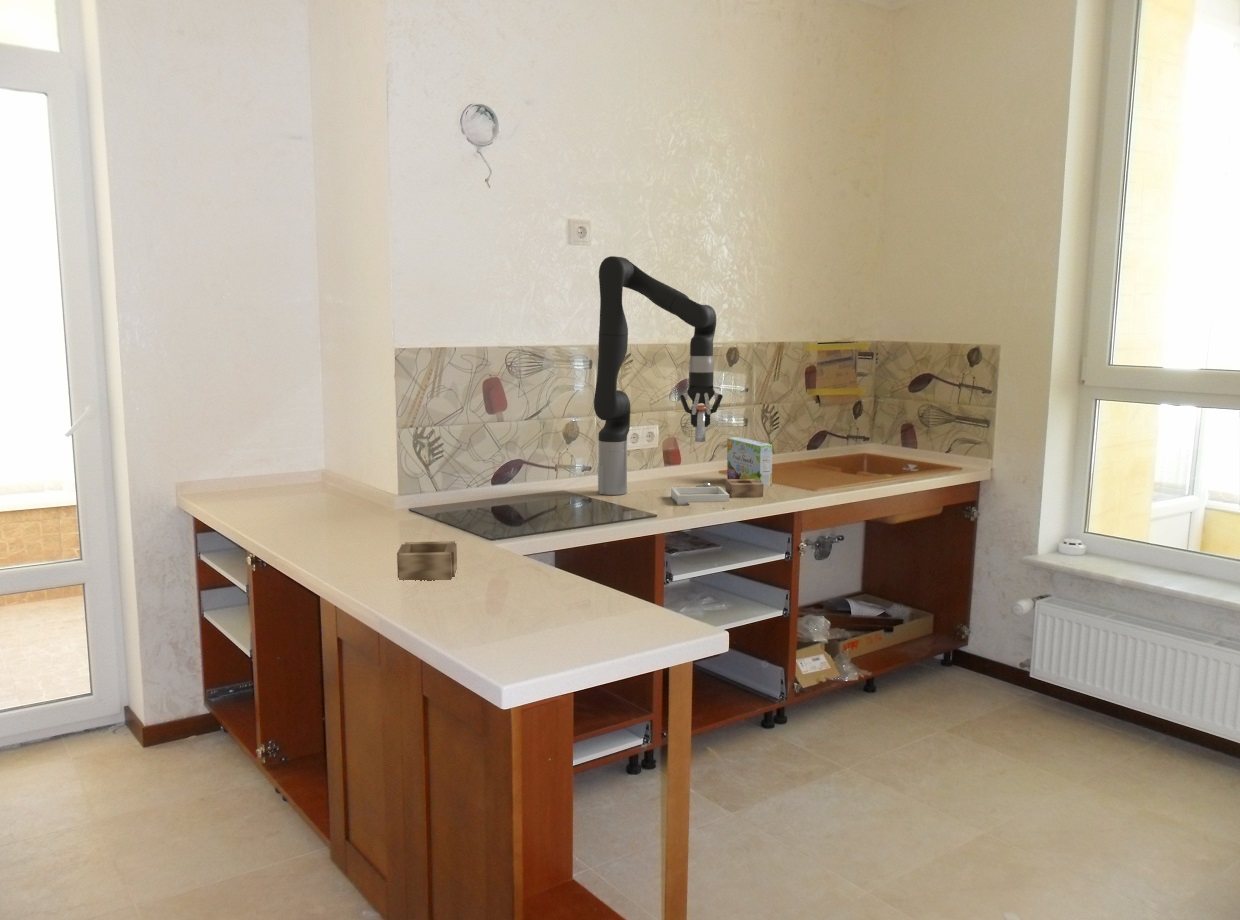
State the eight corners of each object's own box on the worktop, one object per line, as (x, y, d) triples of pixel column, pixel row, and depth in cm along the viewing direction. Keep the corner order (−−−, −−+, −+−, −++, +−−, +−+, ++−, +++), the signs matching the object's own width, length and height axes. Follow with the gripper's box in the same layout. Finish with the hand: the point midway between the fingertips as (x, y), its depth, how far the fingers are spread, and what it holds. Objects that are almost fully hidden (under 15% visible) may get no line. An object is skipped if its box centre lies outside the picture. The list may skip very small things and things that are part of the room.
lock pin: (694, 442, 295) (695, 406, 294) (692, 440, 299) (693, 405, 298) (707, 442, 296) (708, 406, 294) (705, 440, 300) (705, 405, 298)
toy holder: (396, 587, 204) (395, 555, 203) (404, 572, 216) (403, 542, 215) (453, 586, 205) (452, 554, 204) (457, 571, 217) (457, 541, 216)
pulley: (697, 496, 307) (697, 485, 306) (693, 492, 314) (694, 481, 313) (719, 496, 307) (719, 485, 307) (715, 492, 314) (715, 481, 314)
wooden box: (731, 500, 300) (731, 484, 299) (725, 494, 310) (725, 479, 309) (763, 500, 301) (763, 484, 300) (755, 494, 311) (756, 478, 310)
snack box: (725, 479, 338) (726, 437, 336) (739, 478, 341) (740, 436, 338) (758, 489, 319) (759, 444, 317) (772, 488, 322) (774, 443, 319)
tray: (677, 505, 293) (677, 495, 292) (670, 496, 306) (671, 487, 306) (729, 504, 294) (729, 494, 294) (720, 495, 308) (720, 486, 307)
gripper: (680, 371, 290) (679, 428, 292) (726, 371, 291) (725, 427, 294) (676, 370, 297) (676, 425, 300) (721, 369, 299) (720, 425, 301)
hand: (700, 426), depth 297 cm, fingers closed on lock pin, 3 cm apart
